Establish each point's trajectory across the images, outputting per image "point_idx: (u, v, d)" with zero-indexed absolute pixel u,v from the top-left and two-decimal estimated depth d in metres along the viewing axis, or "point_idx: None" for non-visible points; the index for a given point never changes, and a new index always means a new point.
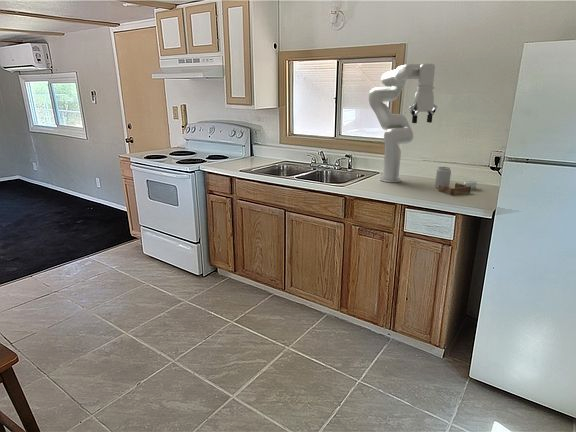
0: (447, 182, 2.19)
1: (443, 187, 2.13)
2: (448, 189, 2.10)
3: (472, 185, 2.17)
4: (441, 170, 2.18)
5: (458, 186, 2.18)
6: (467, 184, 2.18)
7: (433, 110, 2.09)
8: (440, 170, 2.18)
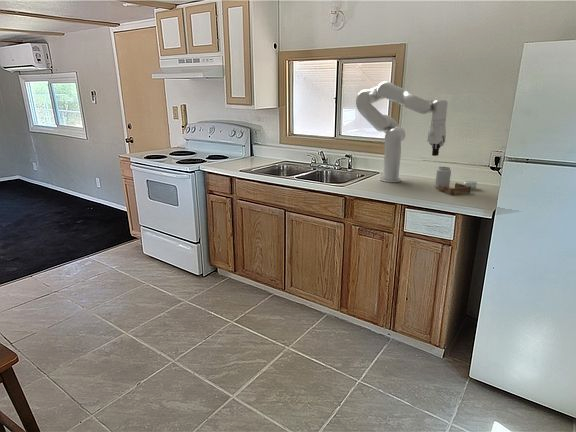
0: (447, 182, 2.19)
1: (443, 187, 2.13)
2: (448, 189, 2.10)
3: (472, 185, 2.17)
4: (441, 170, 2.18)
5: (458, 186, 2.18)
6: (467, 184, 2.18)
7: (434, 144, 2.26)
8: (440, 170, 2.18)
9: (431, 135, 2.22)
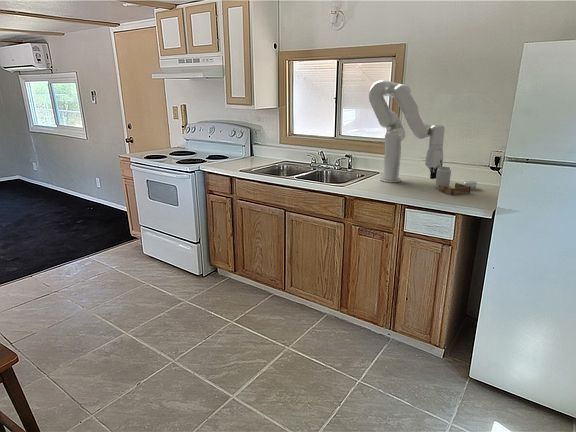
0: (447, 182, 2.19)
1: (443, 187, 2.13)
2: (448, 189, 2.10)
3: (472, 185, 2.17)
4: (441, 170, 2.18)
5: (458, 186, 2.18)
6: (467, 184, 2.18)
7: (432, 167, 2.30)
8: (440, 170, 2.18)
9: (429, 159, 2.27)
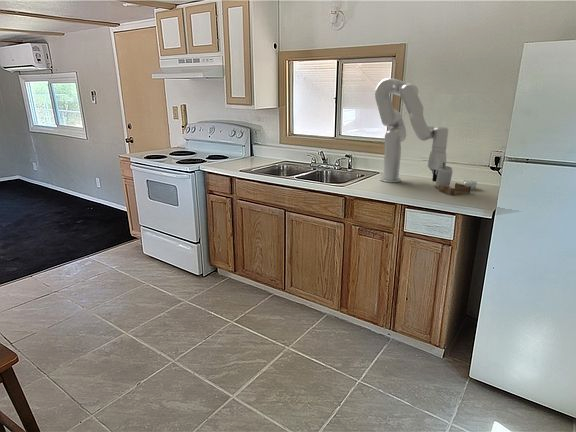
0: (448, 182, 2.18)
1: (443, 187, 2.13)
2: (448, 189, 2.10)
3: (473, 185, 2.17)
4: (443, 170, 2.16)
5: (458, 186, 2.18)
6: (468, 184, 2.17)
7: (435, 169, 2.28)
8: (442, 170, 2.17)
9: (432, 161, 2.24)
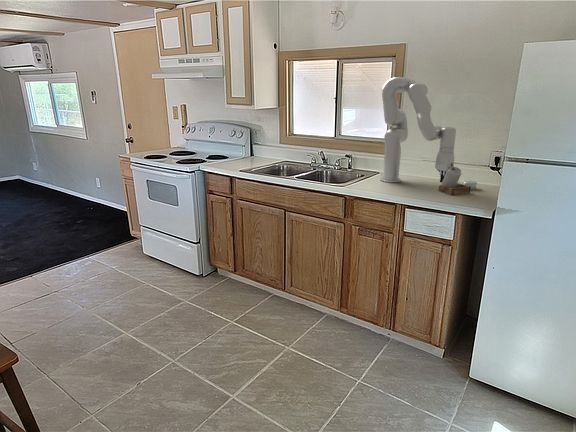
0: (454, 184, 2.14)
1: (443, 187, 2.13)
2: (448, 189, 2.10)
3: (473, 185, 2.17)
4: (452, 172, 2.11)
5: (458, 186, 2.18)
6: (468, 184, 2.17)
7: (442, 170, 2.22)
8: (451, 172, 2.11)
9: (439, 162, 2.19)
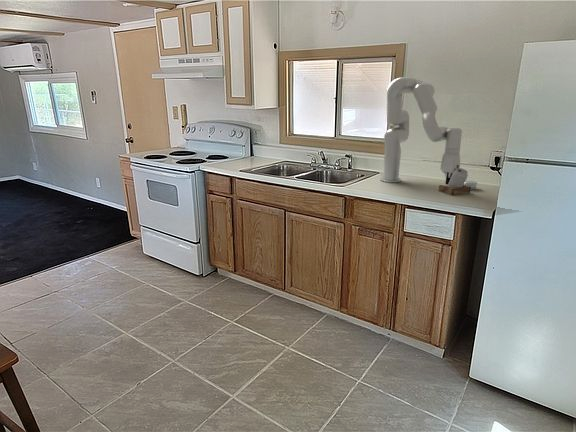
0: (461, 186, 2.10)
1: (443, 187, 2.13)
2: (448, 189, 2.10)
3: (474, 185, 2.17)
4: (458, 174, 2.07)
5: None
6: (469, 184, 2.17)
7: (448, 172, 2.18)
8: (457, 174, 2.07)
9: (445, 164, 2.15)
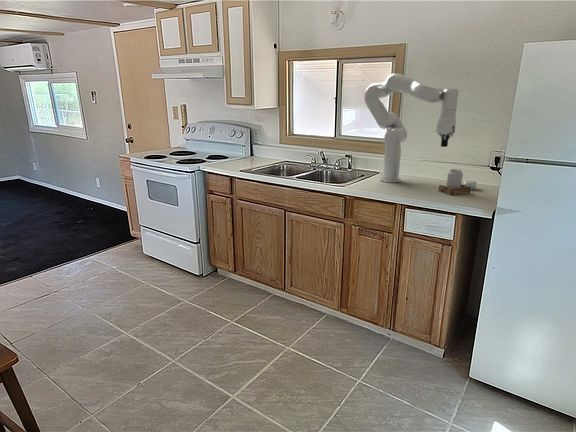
0: (459, 185, 2.11)
1: (443, 187, 2.13)
2: (448, 189, 2.10)
3: (474, 184, 2.17)
4: (453, 173, 2.10)
5: None
6: (470, 184, 2.17)
7: (443, 134, 2.18)
8: (452, 173, 2.10)
9: (440, 125, 2.15)
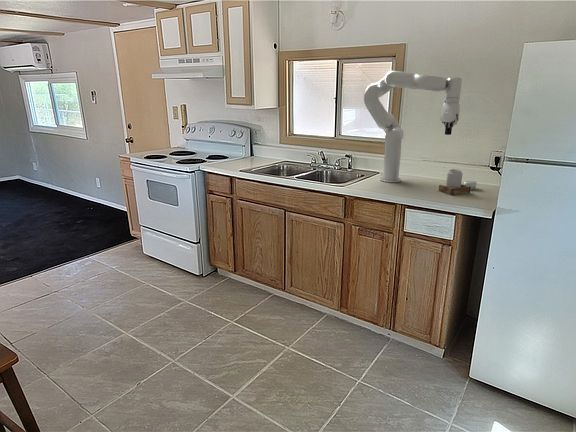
0: (459, 185, 2.11)
1: (443, 187, 2.13)
2: (448, 189, 2.10)
3: (475, 184, 2.17)
4: (453, 173, 2.10)
5: None
6: (470, 184, 2.17)
7: (447, 123, 2.22)
8: (452, 173, 2.10)
9: (444, 113, 2.19)
